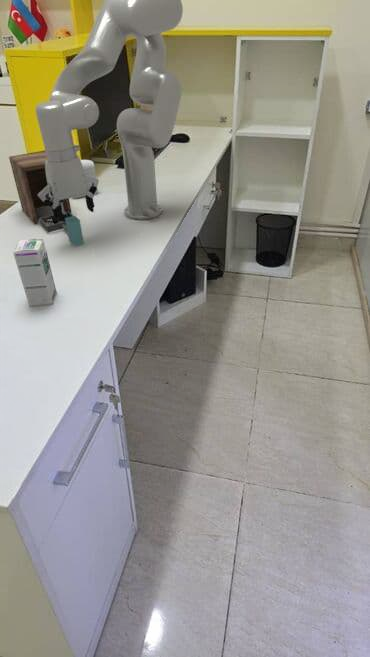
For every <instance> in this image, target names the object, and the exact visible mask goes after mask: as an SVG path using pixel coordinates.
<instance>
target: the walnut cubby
mask: <svg viewBox="0 0 370 657" xmlns="http://www.w3.org/2000/svg"><path fill="white" fill-rule="evenodd" d="M8 158H9V159H8V160H9V164H10V166H11V171H12V174H13V178H14V183H15V186H16V191H17V195H18V199H19V201H20V207H21V209H22V212H23V214H24V215H26V217H27V218H28V219H29V220H30V221H31V223H33V224H34V225H35V226H36V225H38V224H39V223H38V219H37V214H36V211H35V210H38V209H41V208H46V207H49V206H48V205H46V204H45V203H44V202H43V201H42V200H41V199H40V198H39V197H38V193H40V192H41V191H42V190H43V189H44V188H45V187H46V186H47V185H48V184H47V178H46V171H45V161H46V160H47V156H46V152H45V150H39V151H33V152H29V153H23V154H17V155H10V156H8ZM47 195H49V193H48V194H47ZM47 195H46V196H45V197H46V199H47ZM60 205H61V203H60ZM63 207H64V212H66V211H69V212H70V213H71V214H72V215H73V213H72V208H71V207H72V206H71V203H70V198H67V199H64V201H63ZM61 209H62V208H61Z"/></svg>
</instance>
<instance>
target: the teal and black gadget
mask: <svg viewBox="0 0 370 657" xmlns="http://www.w3.org/2000/svg"><path fill="white" fill-rule="evenodd" d="M65 213H66V214H67V217H68V218H65V222H61V223H57V224H53V223H52V224H50V225H49V224H48V222H53V221H47V220H49V219H52V214H51V215H45V216H42V217H41V216H40V217H39V218H38V219H39V224H40V225H41V226H42V228H43V229H45V231H46V232H47V233H52V232H55V231H60V230H64V231H65V232H66V233H67V235H68V241H69V243H71V244H72V245H73V246H77V245H81V244H84V242H85V241H84V236H83V230H82V229H83V228H82V225H81V224H82V223H81V220H80V219H79V218H78V217H77V216H76V215H74V214H73V213H72V214H71V213H70V212H69V211H66V212H65Z"/></svg>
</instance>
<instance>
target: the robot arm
mask: <svg viewBox="0 0 370 657" xmlns="http://www.w3.org/2000/svg"><path fill="white" fill-rule="evenodd" d="M183 7H184V6H183V2H182V0H104V2H103V3H102V4H101V6H100V9H99V12H98V14H97V16H96V19H95V21H94V23H93V26H92V28H91V31H90V33H89V35H88V38H87V39H86V43H85V44H84V47H83V48H82V50H81V51H80V52H79V53H77V55H76V56H75V57H73V58H72V60H70V62H68V64H67V65H66V66H65V67H63V70H62V71H61V72H60V73H59V75H58V77H57V79H56V81H55V83H54V86H53V87H52V90H51V93H50V96H49V100H47V101H42V102H40V103H38V104H36V107H35V114H36V118H37V123H38V128H39V131H40V135H41V139H42V142H43V143H42V144H43V147H44V151H45V152H46V156H47V160H46V161H45V171H46V178H47V184H48V185H47V186H46V187H45V188H44V189H43V190H42V191H41V192H40V193H38V197H39V198H40V199H41V200H42V201H43V202H44V203H45V204H46V205H48V206H47V207H50V208H51V211H52V213H53V215H54V218H55V219H57V220H58V221H59V222H61V221H62V219H61V215H60V211H59V208H58V207H57V205H58V203H59V201H60V200H64V199H67V198H69V199H70V198H71V197H75V196H78V195H82V194H84V193H85V194H86V196H84V198H85V203H86V208H87V210H88V211H89V212H91V213H94V208H95V203H94V198H95V195H96V194H95V192H96V190H97V189H98V187H99V186H98V185H99V182H100V181H99V179H98V178H97V177H96V178H93V177H89V176H86V175H85V172H84V169H83V166H82V163H81V161H80V160H81V158H80V156H79V155H78V154H77V153H78V152H79V151H81V147H80V145H78V144H77V145H75V143H74V142H75V141H74V137H73V133H72V131H75V130H82V129H88V128H90V127H92V126H93V125H95V124H96V122H97V121H98V120H99V116H100V110H99V105H98V104H97V103H96V102H95V100H94V99H92V98H91V97H89V96H87V95H81V94H80V93H81V92H82V91H83V90H84V88H85V87H86V86H87V85H89V84H90V83H91V82H93V81H95V80H98V79H99V78H101V77H104V76H106V75H107V74H109V73H111V72H112V71H113V70H114V69H115V66H116V64H117V61H118V59H119V57H120V54H121V53H122V50H123V47H124V45H125V44H126V41H127V39H128V38H129V37H131V38H132V37H133V38H135V39H136V53H135V59H134V64H133V67H132V68H133V69H132V72H131V78H130V83H129V97H130V98H131V100H132V101H133V102H134V103H136V104H139V105H142V106H148V107H152V108H151V110H147V109H142V108H138V107H137V108H136V107H130V108H125V109H124V110H122V111H121V112H120V113H119V114H118V117H117V119H116V131H117V134H118V139H119V142H120V145H121V146H120V147H121V150H122V157H123V165H124V167H123V168H124V175H125V176H124V178H125V186H126V187H125V188H126V196H127V204H128V205H127V206H126V207H125V208H124V209H123V210H124V212H123V213H124V215H125V217H127V218H130V219H133V220H140V221H141V220H150V219H153V218H156V217H159V216H160V215H161V214H162V213H163V206H161V205H160V204H159V203H158V198H157V197H158V195H157V194H158V193H157V181H156V180H157V179H156V165H155V154H154V151H153V148H155V149H161V148H164V147H165V146H167V144H168V143H169V142H170V140H171V138H172V135H173V131H174V128H175V124H176V119H177V116H178V111H179V107H180V103H181V99H182V98H181V97H182V85H181V80H180V78H179V77H178V75H177V74H176V73H175V72H173V71H171V70H169V69H168V70H166V69H165V64H166V61H167V60H166V59H167V46H166V42H165V40H164V36H163V35H162V33H166V32H169V31H171V30H173V29H175V28H177V27H178V25H179V24H180V22H181V21H182V17H183V11H184V8H183ZM87 181H88V182H92V186H91V187H90V189H89V191H88V183H87ZM48 193H50V195H51V196H52V198H51V200H48V199H46V197H45V196H46V195H47V194H48Z"/></svg>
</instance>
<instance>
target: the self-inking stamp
mask: <svg viewBox="0 0 370 657" xmlns="http://www.w3.org/2000/svg"><path fill="white" fill-rule="evenodd" d="M51 198H52V196H51V195H50V193H49V195H47V199H48V200H51ZM63 201H64V200H60V201H59V203H58V205H57V207H58V208H59V211H60V215H61V219H62V221H61V222H65V218H68V217H67V214H66V213H65V212H64V207H63ZM60 203H61V205H60ZM61 208H62V209H61ZM51 215H52V219H49V220H47V221H53V222H48V223H47V225H49V224H52V225H53V224H57V223H61V222H59V221H58V220H57V219H55V218H54V215H53V212H52V214H51Z"/></svg>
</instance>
